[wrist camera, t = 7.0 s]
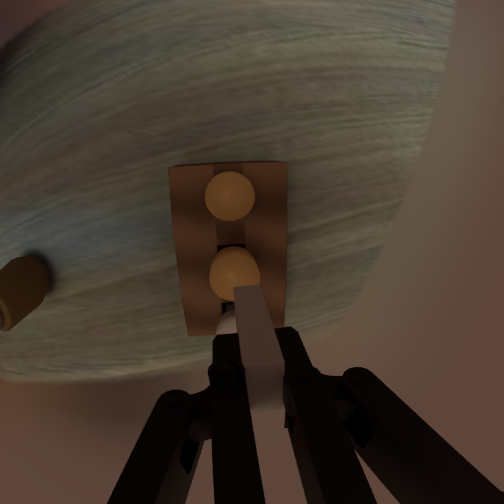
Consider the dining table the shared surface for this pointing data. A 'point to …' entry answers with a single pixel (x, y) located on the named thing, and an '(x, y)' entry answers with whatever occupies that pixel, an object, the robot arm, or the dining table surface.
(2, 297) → the squeeze bottle
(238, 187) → the knob
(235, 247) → the knob middle
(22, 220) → the dining table surface
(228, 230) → the brown rectangular block
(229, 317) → the knob
